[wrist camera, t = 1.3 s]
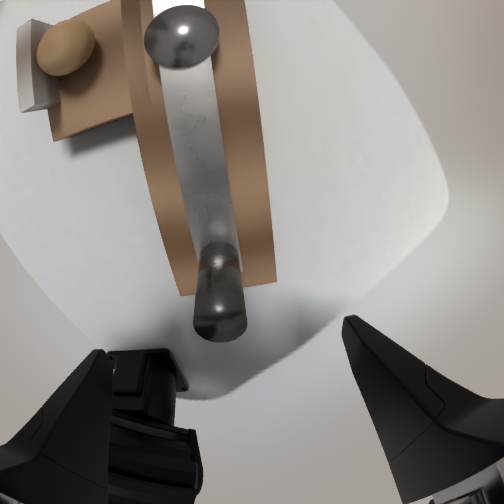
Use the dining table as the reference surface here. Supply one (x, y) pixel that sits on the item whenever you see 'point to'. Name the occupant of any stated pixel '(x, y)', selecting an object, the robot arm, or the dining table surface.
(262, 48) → the dining table surface
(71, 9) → the dining table surface
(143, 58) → the board
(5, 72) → the dining table surface
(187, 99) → the lever
